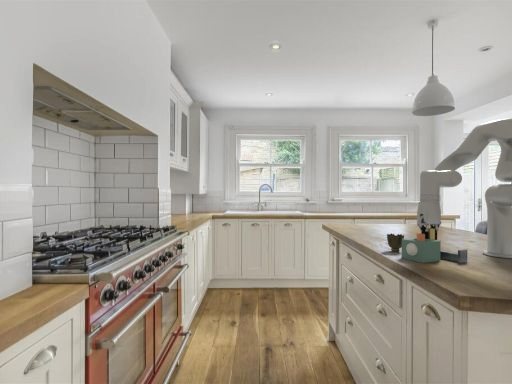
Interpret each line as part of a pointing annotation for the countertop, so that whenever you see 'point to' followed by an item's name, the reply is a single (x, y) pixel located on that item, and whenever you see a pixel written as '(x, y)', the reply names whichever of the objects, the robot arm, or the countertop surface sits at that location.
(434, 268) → the countertop surface
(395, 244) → the cup
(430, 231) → the carriage
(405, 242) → the green box
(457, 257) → the rail
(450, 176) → the robot arm
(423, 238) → the orange peg
